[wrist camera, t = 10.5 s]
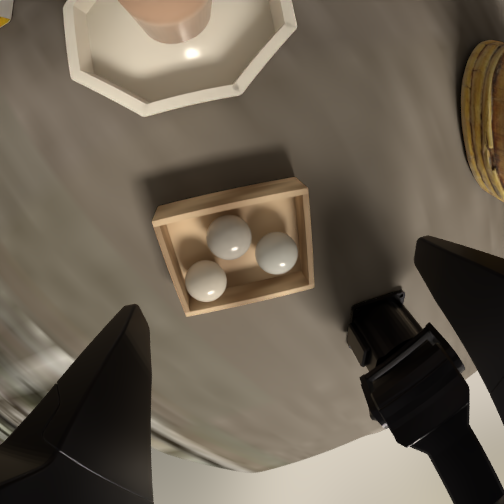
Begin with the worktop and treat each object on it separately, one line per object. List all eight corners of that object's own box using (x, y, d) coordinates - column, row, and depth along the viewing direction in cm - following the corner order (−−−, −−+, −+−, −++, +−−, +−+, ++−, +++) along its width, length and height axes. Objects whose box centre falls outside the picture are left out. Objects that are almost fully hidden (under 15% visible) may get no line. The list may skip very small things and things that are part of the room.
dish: (261, -62, 10) (269, -81, 8) (292, 89, 17) (307, 87, 14) (78, -21, 9) (62, -34, 7) (99, 132, 16) (83, 138, 14)
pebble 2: (244, 204, 20) (251, 220, 17) (251, 241, 21) (258, 262, 19) (201, 213, 20) (201, 231, 17) (211, 250, 21) (212, 273, 19)
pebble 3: (289, 221, 21) (301, 239, 18) (292, 255, 22) (304, 277, 20) (248, 229, 21) (256, 249, 18) (255, 264, 22) (262, 287, 20)
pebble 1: (220, 248, 21) (223, 270, 19) (228, 281, 23) (232, 305, 20) (180, 257, 21) (178, 280, 18) (191, 289, 22) (191, 314, 20)
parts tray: (294, 176, 20) (307, 187, 18) (303, 268, 24) (314, 287, 22) (157, 206, 20) (151, 221, 17) (187, 294, 24) (186, 316, 21)
